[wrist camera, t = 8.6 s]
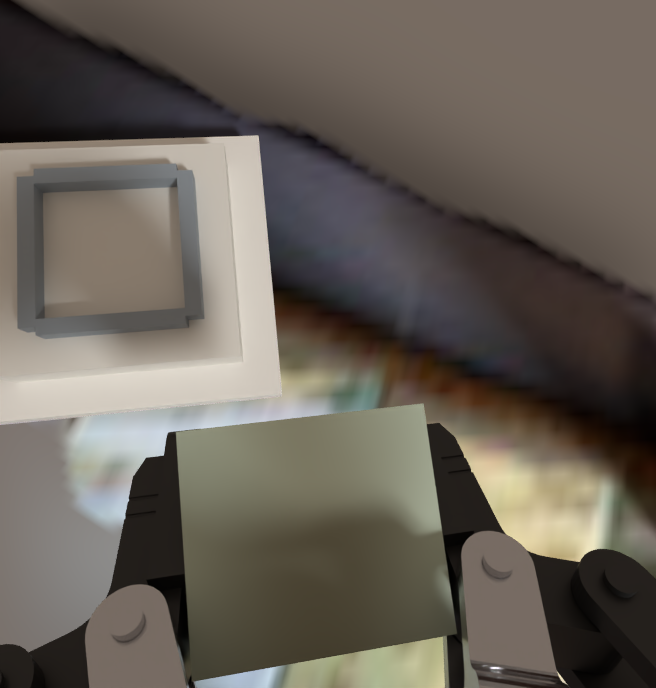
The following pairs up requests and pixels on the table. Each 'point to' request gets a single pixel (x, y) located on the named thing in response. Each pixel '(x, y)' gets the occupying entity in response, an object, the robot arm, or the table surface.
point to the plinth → (133, 277)
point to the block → (310, 539)
